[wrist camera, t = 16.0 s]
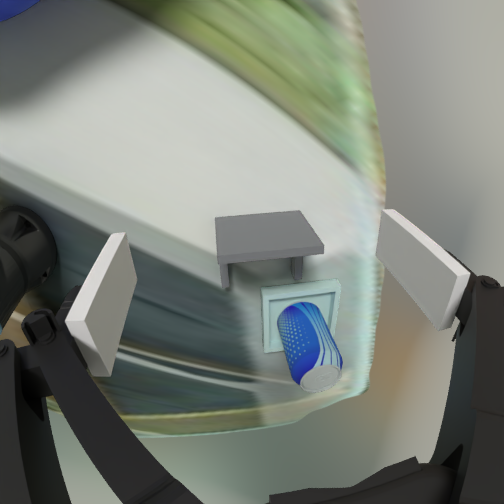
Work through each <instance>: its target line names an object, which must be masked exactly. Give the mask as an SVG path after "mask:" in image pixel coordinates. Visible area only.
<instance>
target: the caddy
mask: <svg viewBox="0 0 504 504" xmlns="http://www.w3.org/2000/svg"><path fill="white" fill-rule="evenodd" d="M38 1H40V0H0V21H3V20H6V19H9V18H11V17H13V16H16V15H18V14H20V13H21V12H23V11H25V10H27V9H28V8H30V7H31V6H33V5H34V4H36V3H37V2H38Z"/></svg>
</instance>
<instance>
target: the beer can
mask: <svg viewBox="0 0 504 504" xmlns="http://www.w3.org/2000/svg"><path fill="white" fill-rule="evenodd" d="M277 326H278V330H279V333H280V337H281V340H282V344H283V348H284V351H285V355H286V358H287V362H288V365H289V369H290V372H291V376H292V378H293V380H294V381H295V382H296V383H297V384H299V385H300V386H301V388H302V389H303V390H304V391H306V392H311V393H316V392H322V391H325V390H327V389H329V388H331V387H333V386H334V385H335V384H336V383H337V382H338V381H339V380H340V378H341V375H342V373H341V368H342V364H343V361H342V357H341V355H340V353H339V350H338V348H337V346H336V344H335V342H334V339H333V337H332V335H331V333H330V331H329V329H328V326H327V324H326V322H325V320H324V318H323V316H322V313H321V311H320V309H319V308H318V307H317V306H316V305H315V304H313V303H310V302H306V301H296V302H293V303H291V304H289V305H287V306H286V307H285V308H284V309H283V310H282V312H281V313H280V315H279V317H278V320H277Z"/></svg>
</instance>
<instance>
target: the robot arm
mask: <svg viewBox="0 0 504 504" xmlns="http://www.w3.org/2000/svg"><path fill="white" fill-rule="evenodd" d="M376 256H377V258H378V259H379V260H380V261H381V262H382V263H383V264H384V266H385V267H386V268H387V269H388V270H389V271H390V272H391V274H392V275H393V276H394V277H395V278H396V279H397V280H398V282H399V283H400V284H401V285H402V287H403V288H404V289H405V290H406V291H407V293H408V294H409V295H410V296H411V297H412V299H413V300H414V301H415V302H416V304H417V305H418V306H419V307H420V309H421V310H422V311H423V312H424V314H425V315H426V316H427V317H428V319H429V320H430V321H431V322H432V324H433V325H434V326H435V327H436V329H437V330H438V331H440V330H444V329H447V328H450V327H451V326H452V324H453V321H454V319H455V316H456V317H457V318H458V319H459V320H460V323H459V325H458V327H457V330H456V332H455V334H454V337H453V339H452V341H454V340H455V339H456V346H455V353H454V361H453V368H452V374H451V380H450V387H449V392H448V397H447V402H446V407H445V411H444V416H443V421H442V425H441V429H440V433H439V437H438V440H437V444H436V448H435V451H434V454H433V456H432V458H431V460H430V462H429V463H420V464H419V463H418V461H417V459H416V457H412V458H409V459H407V460H404V461H402V462H399V463H396V464H393V465H391V466H388V467H385V468H383V469H381V470H380V471H378V472H377V473H375V474H373V475H372V476H370V477H368V478H367V479H365V480H363V481H361V482H360V483H358V484H356V485H354V486H352V487H348V488H308V489H303V490H297V491H292V492H286V493H280V494H274V495H269V503H266V504H504V287H501V286H500V284H499V283H498V282H497V281H496V280H495V279H493V278H490V277H489V276H483V275H482V276H478V277H477V276H476V275H475V274H474V273H473V272H472V271H471V270H470V269H469V268H467V267H466V266H465V265H464V264H463V263H462V262H461V261H460V260H458V259H457V258H456V257H455V256H453V254H451V253H450V252H448V251H447V250H445V249H443V248H441V247H440V246H439V245H438V244H436V243H435V242H434V241H433V240H432V239H431V238H429V237H428V236H427V235H426V234H424V233H423V232H422V231H421V230H419V229H418V228H417V227H416V226H415V225H413V224H412V223H411V222H409V221H408V220H407V219H406V218H404V217H403V216H402V215H400V214H399V213H398V212H396V211H395V210H394V209H390V210H382V212H381V220H380V228H379V235H378V242H377V249H376ZM56 258H57V252H56V245H55V241H54V238H53V236H52V234H51V232H50V230H49V228H48V226H47V225H46V224H45V222H44V221H43V220H42V219H41V218H40V217H39V216H38V215H37V214H36V213H34V212H33V211H31V210H29V209H27V208H25V207H21V206H10V207H7V208H5V209H3V210H2V211H0V334H1V332H2V330H3V328H4V326H5V324H6V323H7V321H8V320H9V318H10V316H11V315H12V313H13V311H14V310H15V308H16V307H17V305H18V304H19V302H20V300H21V299H22V297H23V296H24V294H25V293H27V292H29V291H30V290H32V289H34V288H36V287H38V286H39V285H41V284H42V283H44V282H45V281H46V280H47V278H48V277H49V276H50V274H51V273H52V271H53V269H54V267H55V264H56ZM136 282H137V276H136V272H135V269H134V265H133V261H132V256H131V252H130V248H129V244H128V239H127V235H126V232H123V233H115V234H111V236H110V238H109V239H108V241H107V243H106V244H105V246H104V248H103V249H102V251H101V253H100V255H99V256H98V258H97V260H96V262H95V264H94V265H93V267H92V269H91V271H90V273H89V275H88V276H87V278H86V280H85V282H84V284H83V285H82V286H75V287H74V288H73V289H72V290H71V291H70V292H69V293H68V294H67V296H66V297H65V299H64V302H63V303H62V305H61V307H60V309H59V310H58V312H57V314H56V316H54V314H53V312H52V311H51V310H50V309H46V308H43V309H38V310H35V311H33V312H31V313H30V314H28V315H27V316H26V317H25V318H24V320H23V322H22V324H21V327H22V330H23V332H24V334H25V336H26V338H27V339H28V341H29V343H30V345H28V346H24V347H20V348H16V346H15V344H14V342H12V341H11V340H9V339H4V340H1V341H0V504H72V503H71V501H70V498H69V495H68V491H67V488H66V485H65V482H64V478H63V476H62V471H61V468H60V464H59V460H58V456H57V452H56V448H55V444H54V440H53V435H52V430H51V425H50V420H49V415H48V409H47V403H46V397H47V396H51V395H54V397H55V399H56V401H57V403H58V405H59V407H60V409H61V411H62V413H63V414H64V416H65V418H66V419H67V422H68V423H69V425H70V427H71V429H72V430H73V432H74V434H75V435H76V437H77V439H78V440H79V442H80V443H81V445H82V447H83V448H84V450H85V452H86V453H87V455H88V456H89V458H90V459H91V461H92V462H93V464H94V465H95V467H96V468H97V470H98V471H99V472H100V474H101V475H102V477H103V478H104V479H105V481H106V482H107V483H108V485H109V486H110V488H111V489H112V490H113V492H114V493H115V494H116V495H117V497H118V498H119V499H120V501H121V502H122V503H123V504H203V503H202V502H201V501H200V500H199V499H198V498H197V497H196V496H195V495H194V494H193V493H191V492H190V491H189V490H188V489H187V488H186V487H185V486H184V485H183V484H182V483H181V482H179V481H178V480H177V479H175V478H174V477H173V476H171V475H170V473H169V472H168V471H167V470H166V469H165V468H164V467H163V466H162V465H161V464H160V463H159V462H158V461H157V460H156V459H155V458H154V457H153V455H152V454H151V453H150V452H149V451H148V450H147V449H146V448H145V447H144V446H143V444H142V443H141V442H140V441H139V440H138V438H137V437H136V436H135V435H134V434H133V432H132V431H131V430H130V429H129V428H128V426H127V425H126V424H125V423H124V421H123V420H122V419H121V418H120V416H119V415H118V414H117V413H116V411H115V410H114V409H113V407H112V406H111V405H110V403H109V402H108V401H107V399H106V398H105V397H104V395H103V394H102V393H101V391H100V390H99V388H98V387H97V386H96V384H95V383H94V381H93V380H92V378H91V377H90V375H89V374H88V372H87V371H86V369H87V367H88V368H89V370H90V372H91V374H92V376H102V377H111V373H112V369H113V365H114V361H115V357H116V353H117V349H118V345H119V341H120V337H121V334H122V330H123V326H124V323H125V319H126V316H127V312H128V309H129V305H130V302H131V299H132V295H133V292H134V289H135V286H136Z"/></svg>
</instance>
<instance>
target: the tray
mask: <svg viewBox="0 0 504 504" xmlns="http://www.w3.org/2000/svg"><path fill="white" fill-rule="evenodd" d="M340 293H341V285H340V283H339V281H338V280H337V279H329V280H321V281H313V282H304V283H296V284H288V285H279V286H270V287H261V311H262V343H263V349H264V353H269V352H277V351H284V348H283V344H282V340H281V337H280V333H279V330H278V326H277V320H278V317H279V315H280V313H281V312H282V310H283V309H284V308H285V307H286V306H287V305H289V304H291V303H293V302H296V301H306V302H310V303H313V304H315V305H316V306H317V307H318V308H319V309H320V311H321V313H322V316H323V318H324V320H325V322H326V324H327V326H328V329H329V331H330V333H331V335H332V337H333V339H334V333H335V327H336V321H337V314H338V307H339V300H340Z"/></svg>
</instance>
